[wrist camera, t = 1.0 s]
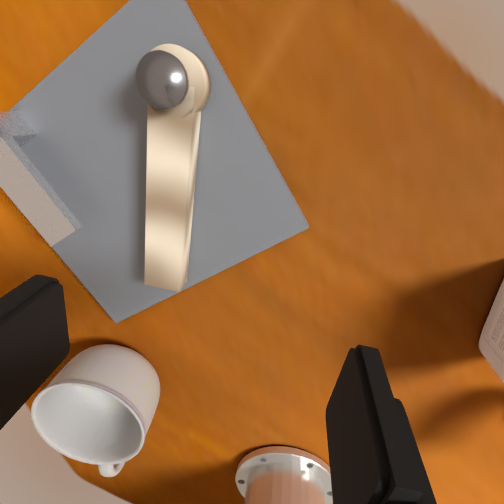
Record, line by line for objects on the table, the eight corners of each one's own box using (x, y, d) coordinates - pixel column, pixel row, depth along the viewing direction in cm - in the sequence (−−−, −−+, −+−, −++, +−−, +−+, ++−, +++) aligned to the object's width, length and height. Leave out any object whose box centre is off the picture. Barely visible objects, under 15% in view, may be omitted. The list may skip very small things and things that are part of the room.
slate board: (308, 224, 27) (308, 228, 26) (120, 317, 34) (115, 323, 33) (171, -27, 21) (165, -33, 21) (-22, 146, 28) (-32, 148, 27)
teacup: (78, 321, 35) (20, 376, 28) (174, 340, 34) (140, 401, 27) (88, 409, 41) (43, 474, 34) (170, 427, 40) (142, 497, 33)
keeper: (107, 213, 29) (75, 230, 25) (84, 228, 30) (50, 247, 26) (29, 110, 26) (-21, 111, 22) (7, 130, 27) (-46, 134, 23)
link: (152, 44, 22) (125, 32, 19) (214, 54, 22) (198, 44, 19) (147, 272, 30) (127, 293, 26) (193, 282, 30) (179, 304, 26)
